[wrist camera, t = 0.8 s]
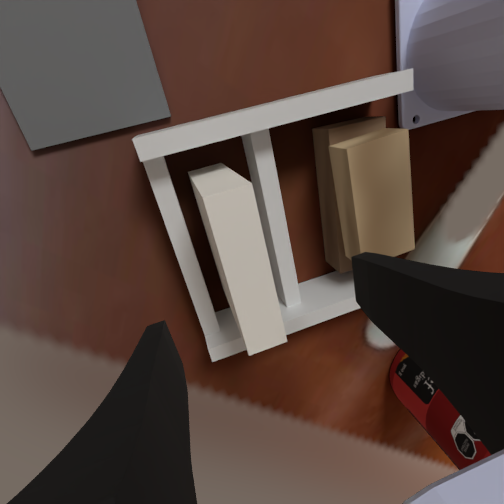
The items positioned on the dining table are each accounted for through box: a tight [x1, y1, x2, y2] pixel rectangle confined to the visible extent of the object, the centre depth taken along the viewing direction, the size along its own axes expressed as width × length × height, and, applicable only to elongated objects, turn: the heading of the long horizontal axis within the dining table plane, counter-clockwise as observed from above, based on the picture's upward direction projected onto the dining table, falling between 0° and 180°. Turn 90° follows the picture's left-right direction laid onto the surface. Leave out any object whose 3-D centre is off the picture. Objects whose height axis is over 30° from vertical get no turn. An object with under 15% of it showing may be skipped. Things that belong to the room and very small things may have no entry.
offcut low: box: [312, 116, 386, 274], centre depth 21 cm, size 4×9×2 cm, turn 11°
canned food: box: [390, 349, 491, 470], centre depth 25 cm, size 8×8×11 cm
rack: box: [132, 68, 414, 362], centre depth 20 cm, size 14×13×4 cm
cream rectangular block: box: [188, 163, 287, 356], centre depth 17 cm, size 2×8×7 cm, turn 13°
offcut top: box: [328, 128, 415, 260], centre depth 19 cm, size 4×7×2 cm, turn 16°
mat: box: [0, 0, 171, 151], centre depth 15 cm, size 7×10×1 cm
